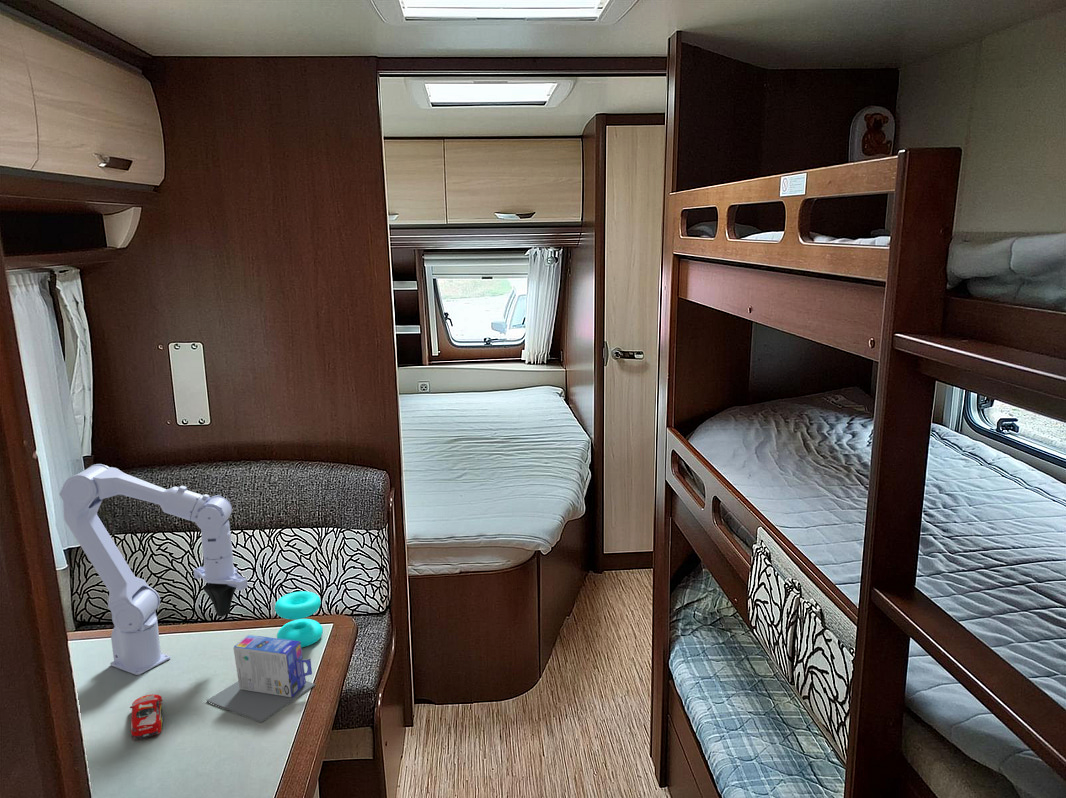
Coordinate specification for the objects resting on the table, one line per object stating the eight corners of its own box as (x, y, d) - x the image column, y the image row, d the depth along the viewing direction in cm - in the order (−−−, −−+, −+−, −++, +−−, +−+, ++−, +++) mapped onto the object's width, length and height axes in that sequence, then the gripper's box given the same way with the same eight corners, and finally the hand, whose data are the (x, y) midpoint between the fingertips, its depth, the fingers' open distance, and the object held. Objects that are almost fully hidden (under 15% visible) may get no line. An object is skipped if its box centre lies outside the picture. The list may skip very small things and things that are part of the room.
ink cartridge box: (256, 674, 155) (317, 685, 151) (238, 690, 150) (301, 702, 146) (249, 632, 153) (312, 641, 149) (232, 647, 148) (295, 657, 144)
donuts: (311, 608, 164) (266, 608, 165) (314, 651, 166) (270, 650, 167) (326, 589, 174) (284, 588, 175) (329, 629, 176) (287, 628, 176)
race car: (133, 708, 146) (131, 689, 145) (164, 701, 148) (162, 682, 147) (128, 746, 134) (126, 725, 133) (162, 737, 136) (160, 717, 136)
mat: (206, 702, 147) (206, 700, 147) (262, 668, 159) (262, 666, 159) (261, 722, 140) (261, 720, 140) (315, 685, 152) (315, 683, 152)
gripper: (256, 553, 159) (262, 613, 162) (211, 542, 166) (216, 600, 168) (229, 565, 153) (234, 627, 155) (182, 553, 160) (189, 613, 162)
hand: (223, 614), depth 162 cm, fingers closed
